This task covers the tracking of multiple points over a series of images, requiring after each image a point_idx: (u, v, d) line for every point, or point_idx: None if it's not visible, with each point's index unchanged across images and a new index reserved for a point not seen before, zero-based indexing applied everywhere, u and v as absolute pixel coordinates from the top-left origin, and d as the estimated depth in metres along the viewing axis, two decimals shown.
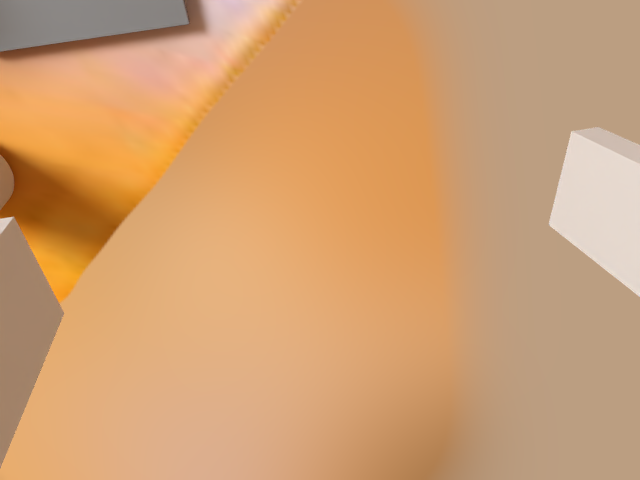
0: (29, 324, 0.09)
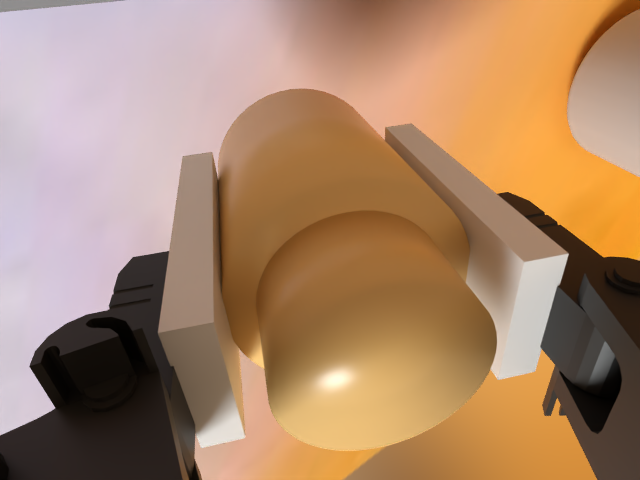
0: None
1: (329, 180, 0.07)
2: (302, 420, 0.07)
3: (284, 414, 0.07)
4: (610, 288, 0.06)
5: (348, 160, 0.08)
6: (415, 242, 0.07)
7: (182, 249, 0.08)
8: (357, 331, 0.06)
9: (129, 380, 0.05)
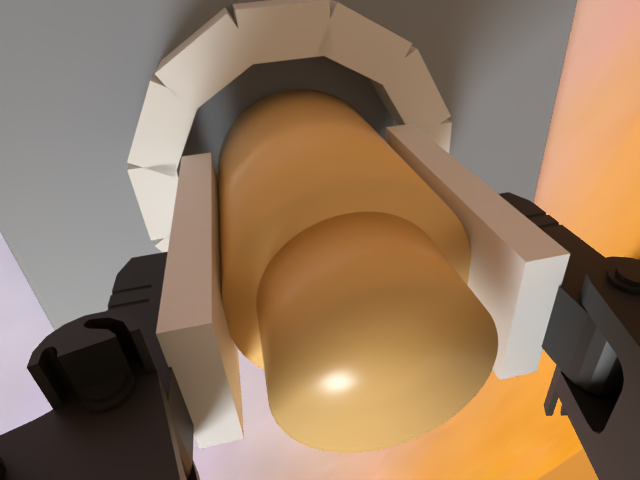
0: None
1: (330, 181, 0.07)
2: (302, 422, 0.07)
3: (284, 416, 0.07)
4: (612, 288, 0.06)
5: (348, 160, 0.08)
6: (416, 243, 0.07)
7: (180, 249, 0.08)
8: (358, 333, 0.06)
9: (127, 381, 0.05)
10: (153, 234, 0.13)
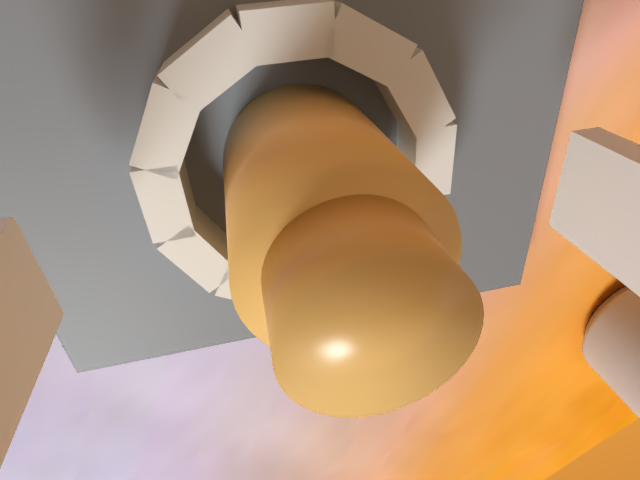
0: (29, 324, 0.09)
1: (329, 165, 0.08)
2: (304, 386, 0.07)
3: (287, 380, 0.07)
4: None
5: (347, 147, 0.08)
6: (408, 222, 0.07)
7: None
8: (354, 302, 0.07)
9: None
10: (155, 237, 0.13)
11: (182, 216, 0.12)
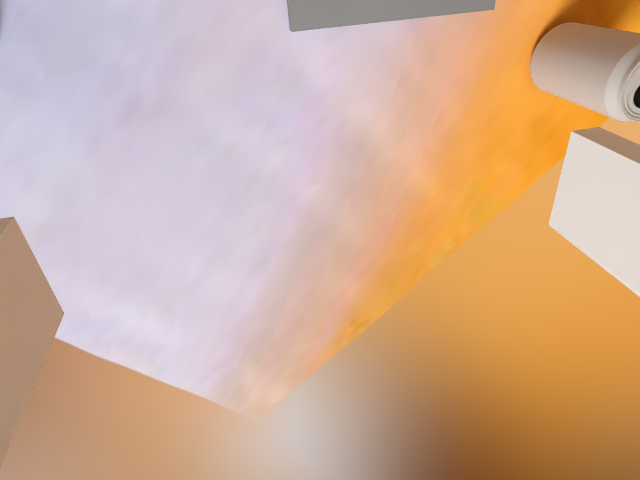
0: (29, 324, 0.09)
1: None
2: None
3: None
4: None
5: None
6: None
7: None
8: None
9: None
10: None
11: None
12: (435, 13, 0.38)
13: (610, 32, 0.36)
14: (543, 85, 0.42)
